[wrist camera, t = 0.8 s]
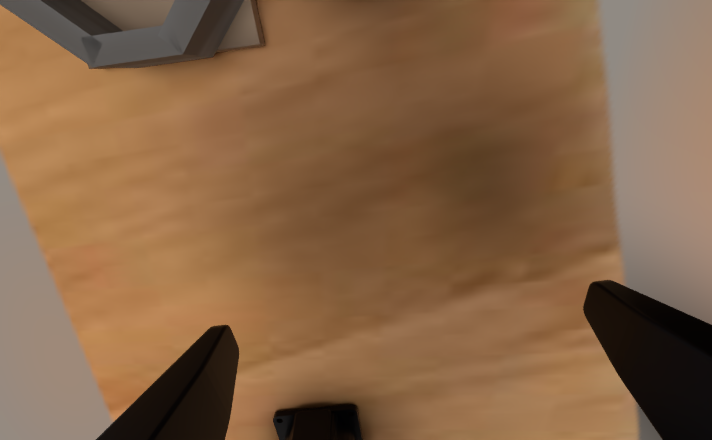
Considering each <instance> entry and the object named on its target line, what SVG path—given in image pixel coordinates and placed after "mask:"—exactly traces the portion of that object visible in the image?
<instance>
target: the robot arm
mask: <svg viewBox="0 0 712 440" xmlns="http://www.w3.org/2000/svg"><path fill="white" fill-rule="evenodd" d="M583 310H584V314H585V316H586V318H587V320H588V322H589V324H590V326H591V327H592V329H593V331H594V333H595V335H596V336H597V338H598V340H599V342H600V344H601V345H602V347H603V349H604V351H605V353H606V354H607V356H608V358H609V360H610V362H611V363H612V365H613V367H614V368H615V370H616V372H617V373H618V375H619V377H620V378H621V380H622V381H623V383H624V384H625V386H626V387H627V389H628V390H629V391H630V393H631V394H632V396H633V397H634V399H635V400H636V402H637V403H638V405H639V406H640V407H641V409H642V410H643V412H644V413H645V415H646V416H647V417H648V419H649V420H650V422H651V423H652V425H653V426H654V428H655V429H656V431H657V432H658V433H659V435H660V436H661V438H662V439H663V440H712V325H711V324H709V323H706V322H704V321H702V320H700V319H697V318H695V317H693V316H690V315H688V314H686V313H684V312H682V311H679V310H677V309H675V308H673V307H670V306H668V305H666V304H664V303H661V302H659V301H657V300H655V299H652V298H650V297H648V296H646V295H643V294H641V293H639V292H637V291H634V290H632V289H630V288H628V287H625V286H623V285H621V284H619V283H616V282H614V281H611V280H604V281H595V282H592V283H591V284H590V286H589V289H588V292H587V295H586V299H585V302H584V306H583ZM238 359H239V348H238V345H237V342H236V340H235V338H234V335H233V333H232V330H231V328H230V327H229V326H228V325H219V326H213V327H211V328H209V329H208V330H207V331H206V332H205V333H204V334H203V335H202V336H201V337H200V338H199V339H198V340H197V341H196V342H195V343H194V344H193V345H192V346H191V347H190V348H189V349H188V350H187V351H186V352H185V353H184V354H183V355H182V356H181V357H180V358H179V359H178V360H177V361H176V362H174V363H173V364H172V365H171V366H170V367H169V368H168V369H167V370H166V371H165V372H164V373H163V374H162V375H161V376H160V377H159V378H158V379H157V380H156V381H155V382H154V383H153V384H152V385H151V386H150V387H149V388H148V389H147V390H146V391H145V392H144V393H143V394H142V395H141V396H140V397H139V398H138V399H137V400H136V401H135V402H134V403H133V404H132V405H131V406H130V407H129V408H128V409H127V410H126V411H125V412H124V413H123V414H122V415H121V416H120V417H118V418H117V419H116V420H115V421H114V422H113V423H112V424H111V425H110V426H109V427H108V428H107V429H106V430H105V431H104V432H103V433H102V434H101V435H100V436H99V437H98V438H97V439H96V440H225V437H226V433H227V429H228V424H229V420H230V414H231V408H232V402H233V394H234V387H235V380H236V373H237V366H238ZM273 422H274V425H275V428H276V431H277V434H278V437H279V440H363V438H362V432H361V427H360V421H359V416H358V410H357V407H356V406H355V405H342V406H331V407H321V408H311V409H300V410H290V411H280V412H276V413H275V414H274V418H273Z"/></svg>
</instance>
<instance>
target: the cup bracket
mask: <svg viewBox="0 0 712 440" xmlns="http://www.w3.org/2000/svg"><path fill="white" fill-rule="evenodd" d="M0 5H2V6H3V7H5V8H6V9H8V10H9V11H11V12H12V13H13V14H15V15H16V16H18V17H19V18H21V19H22V20H24V21H25V22H27V23H28V24H30V25H31V26H33V27H34V28H36V29H37V30H39V31H40V32H41V33H43V34H44V35H46V36H47V37H49V38H50V39H52V40H53V41H55V42H56V43H58V44H59V45H61V46H62V47H64V48H65V49H66V50H68V51H69V52H71V53H72V54H74V55H75V56H77V57H78V58H80V59H81V60H83V61H84V62H86V63H87V64H88V67H89V69H106V68H141V67H148V66H155V65H162V64H169V63H176V62H183V61H190V60H197V59H204V58H211V57H213V56H214V54H215V53H217V52H224V51H231V50H238V49H245V48H252V47H259V46H265V43H264V38H263V33H262V29H261V24H260V19H259V14H258V10H257V5H256V0H0Z"/></svg>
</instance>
